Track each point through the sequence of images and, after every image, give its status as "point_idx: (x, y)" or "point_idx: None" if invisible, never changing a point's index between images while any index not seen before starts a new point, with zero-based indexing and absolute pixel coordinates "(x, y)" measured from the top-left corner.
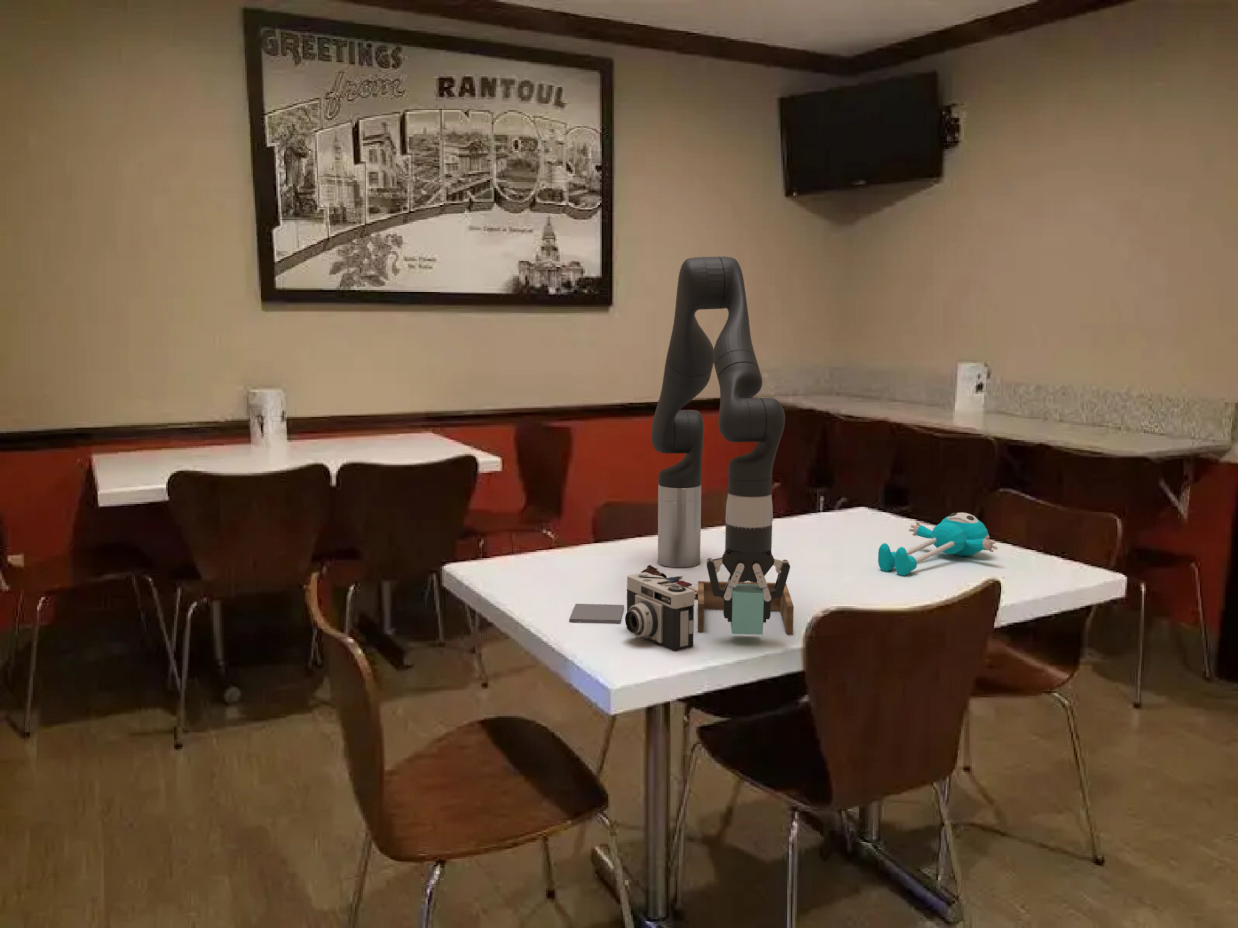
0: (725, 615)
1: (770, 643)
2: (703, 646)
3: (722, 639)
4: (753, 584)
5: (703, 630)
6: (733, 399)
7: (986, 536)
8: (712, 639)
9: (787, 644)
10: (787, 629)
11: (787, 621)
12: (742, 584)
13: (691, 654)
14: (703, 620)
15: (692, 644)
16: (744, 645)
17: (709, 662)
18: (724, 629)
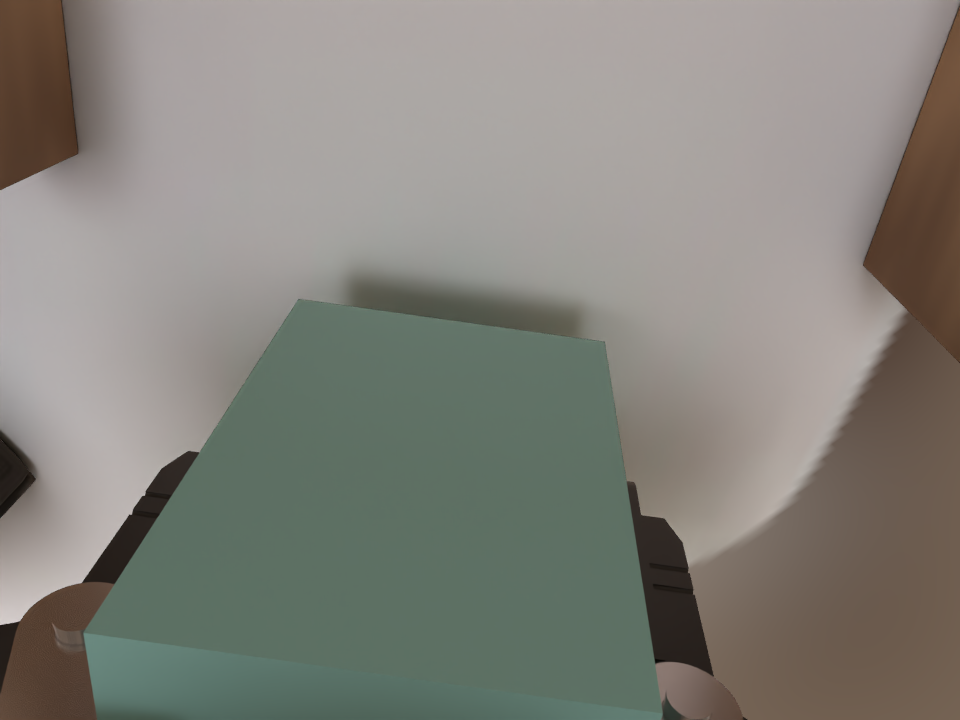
0: None
1: (632, 457)
2: (110, 474)
3: (253, 345)
4: (499, 708)
5: (67, 156)
6: None
7: None
8: (170, 339)
9: (762, 486)
10: (886, 285)
11: (919, 319)
12: (290, 690)
13: (45, 594)
14: (5, 185)
15: (19, 497)
16: None
17: None
18: (280, 73)
